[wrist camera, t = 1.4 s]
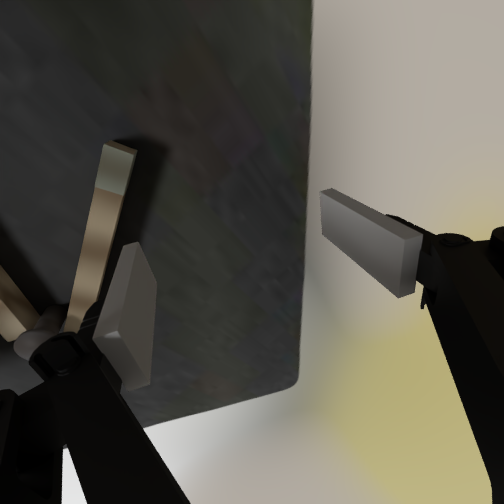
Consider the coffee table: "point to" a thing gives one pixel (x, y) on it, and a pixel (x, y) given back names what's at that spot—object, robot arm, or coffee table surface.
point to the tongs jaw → (100, 229)
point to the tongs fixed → (26, 319)
